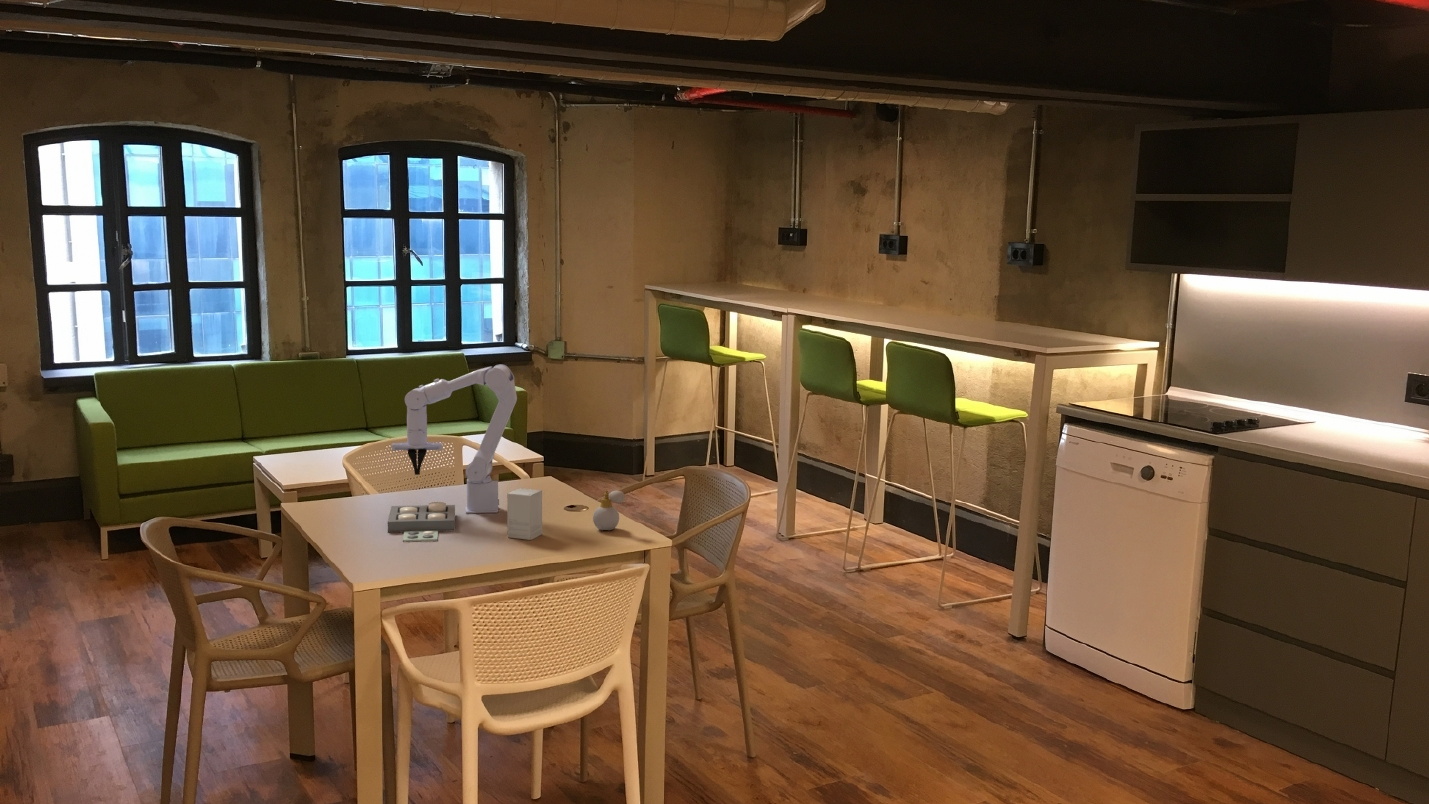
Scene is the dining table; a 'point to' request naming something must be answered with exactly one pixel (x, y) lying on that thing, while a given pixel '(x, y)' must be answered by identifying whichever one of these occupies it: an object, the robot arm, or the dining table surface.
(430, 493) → the dining table surface
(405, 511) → the button
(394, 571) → the dining table surface
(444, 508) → the button
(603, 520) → the perfume bottle
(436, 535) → the tile
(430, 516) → the button
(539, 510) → the supplement box
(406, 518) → the button
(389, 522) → the button board
